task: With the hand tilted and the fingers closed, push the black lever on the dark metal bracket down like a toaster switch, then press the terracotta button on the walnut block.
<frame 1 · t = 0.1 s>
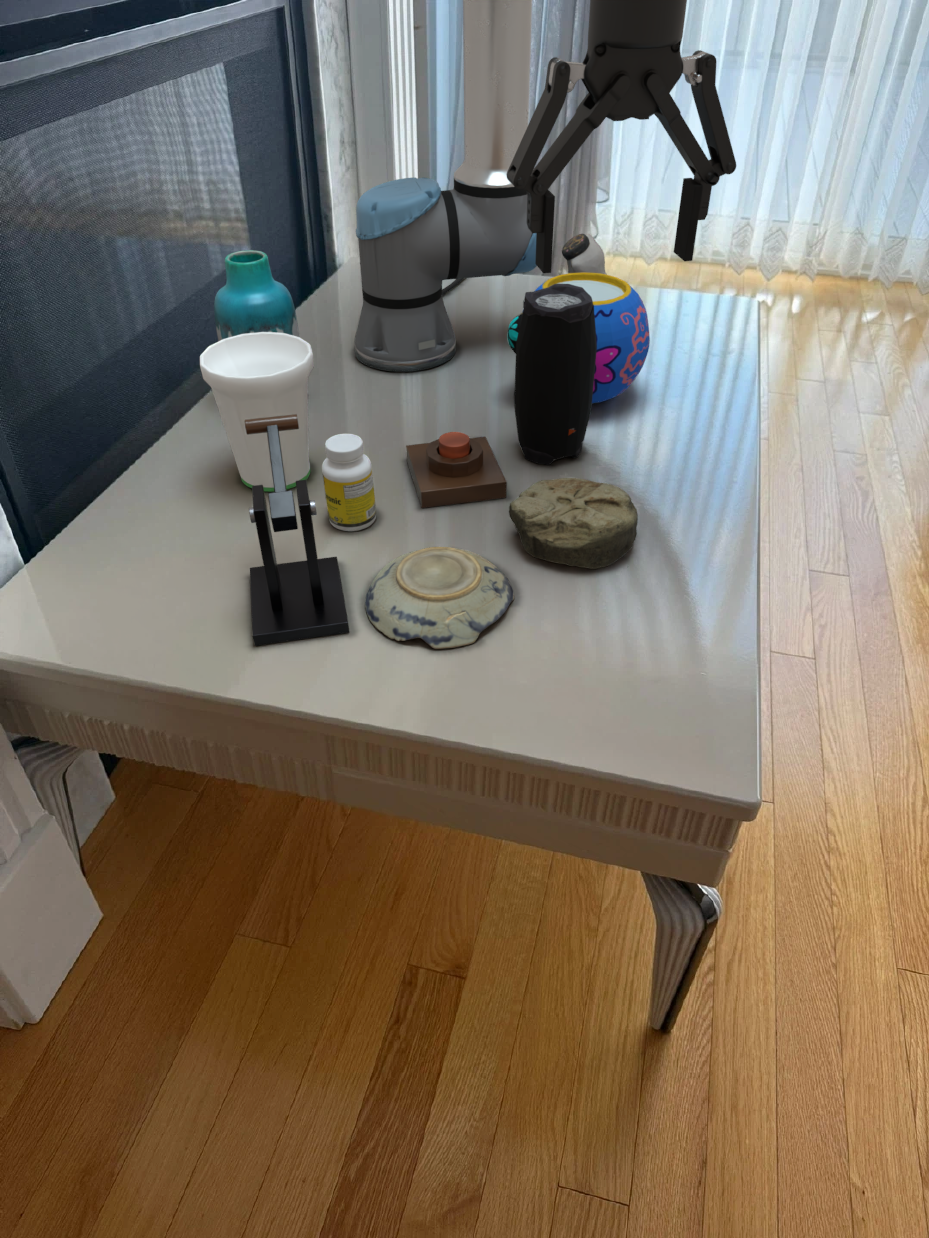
hand: (613, 262, 84), 28 cm above the table, tool pointing down, fingers open, 13 cm apart
decorative bowl: (440, 601, 90), on the table
vase: (269, 399, 125), on the table
supplement bottle: (352, 520, 102), on the table
stone: (571, 539, 98), on the table
button block: (455, 479, 108), on the table
ceramic pot: (577, 396, 125), on the table
lever: (277, 469, 85), point 13 cm above the table, hinge at 25.0°
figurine: (590, 337, 140), on the table
portable speaker: (550, 452, 113), on the table
bracket: (298, 604, 90), on the table
cup: (276, 475, 109), on the table
button: (454, 445, 105), point 4 cm above the table, slide at 0.1 cm
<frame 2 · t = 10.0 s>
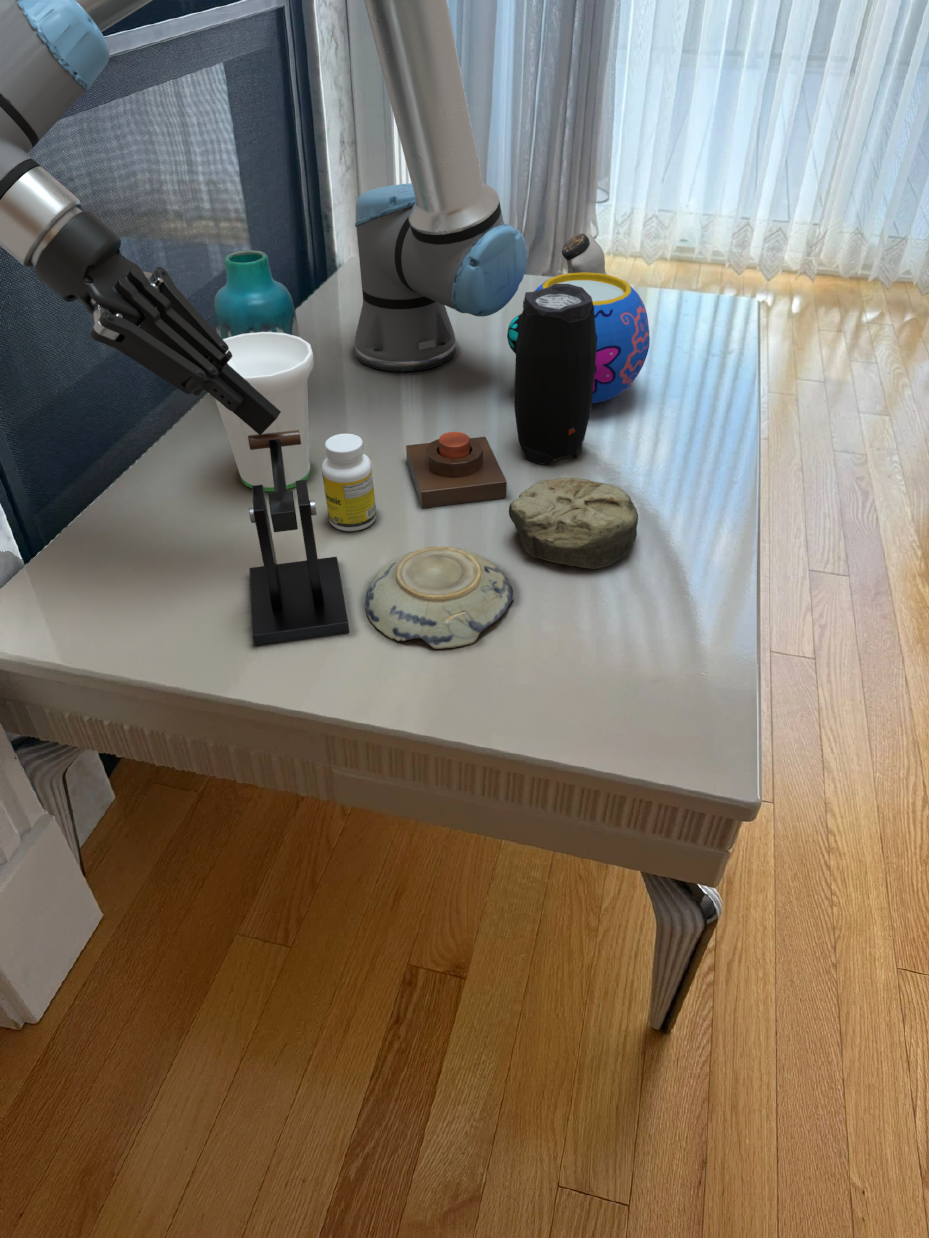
hand: (270, 423, 87), 15 cm above the table, tool tilted 45°, fingers closed
lever: (279, 476, 86), point 12 cm above the table, hinge at 12.4°, touching gripper
everything else where it was.
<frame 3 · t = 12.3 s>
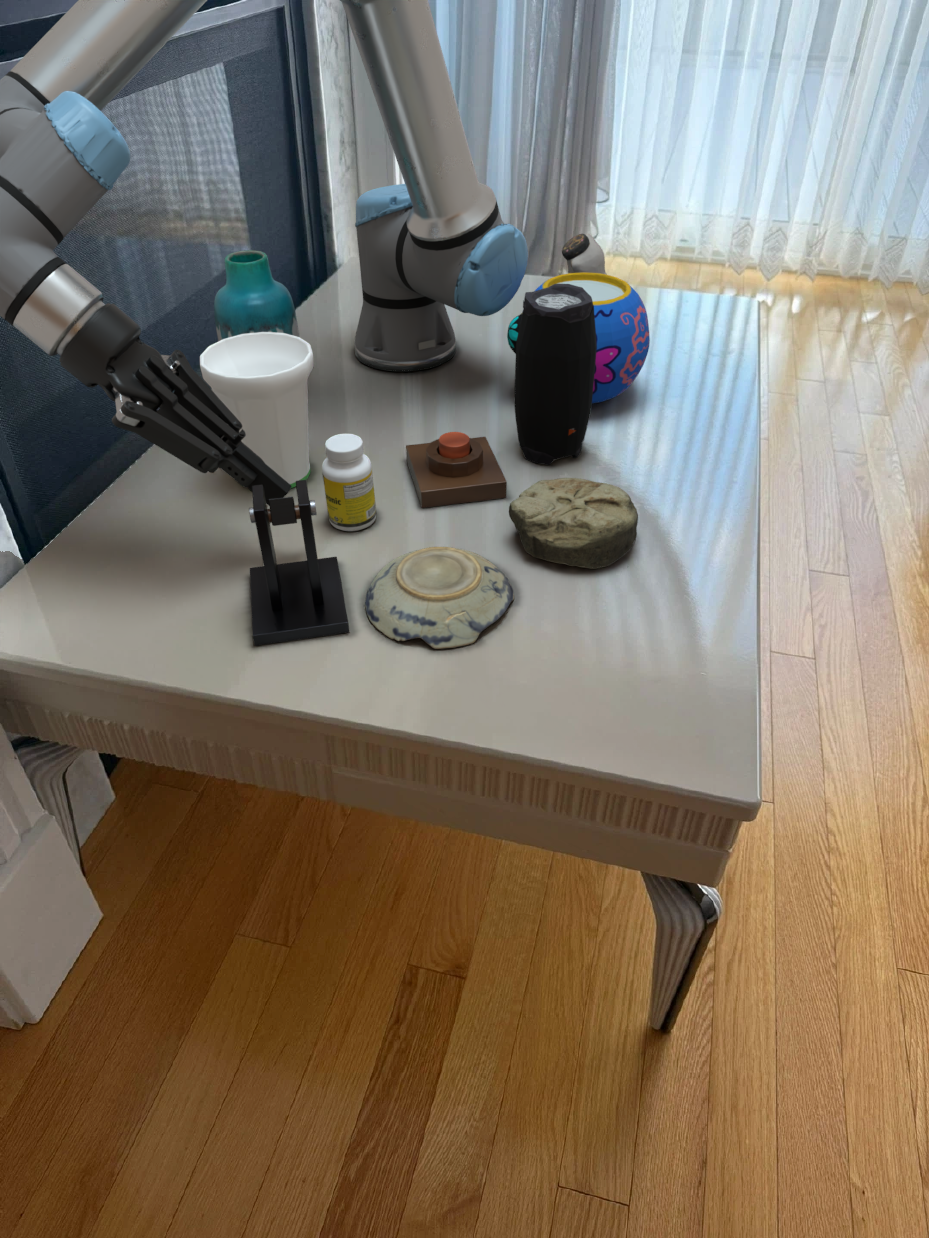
hand: (281, 497, 92), 7 cm above the table, tool tilted 45°, fingers closed
lever: (284, 512, 87), point 8 cm above the table, hinge at -33.8°, touching gripper
everything else where it was.
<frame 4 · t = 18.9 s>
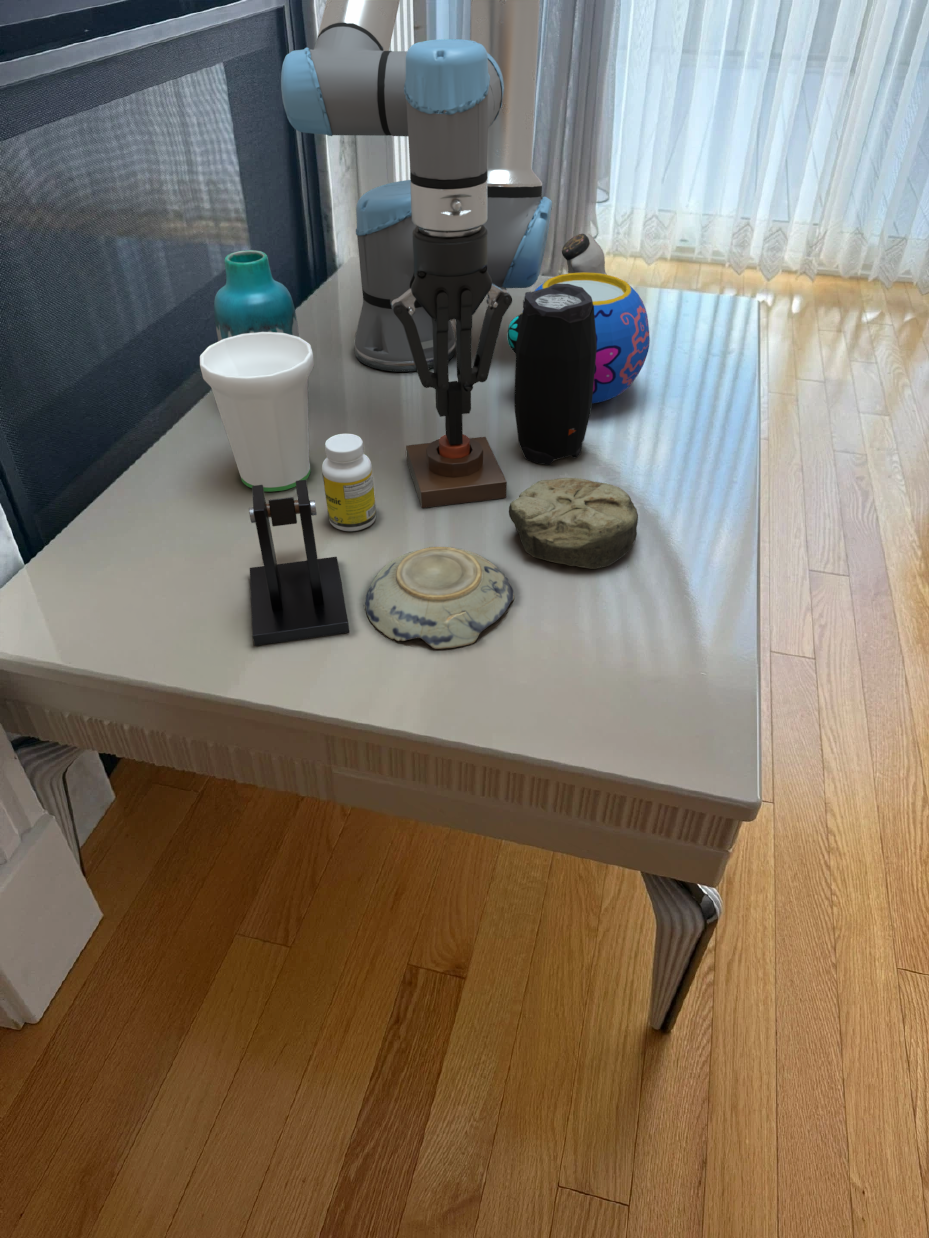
hand: (454, 438, 104), 5 cm above the table, tool pointing down, fingers closed
lever: (284, 509, 87), point 9 cm above the table, hinge at -30.7°
button: (454, 447, 105), point 4 cm above the table, slide at -0.1 cm, touching gripper
everything else where it was.
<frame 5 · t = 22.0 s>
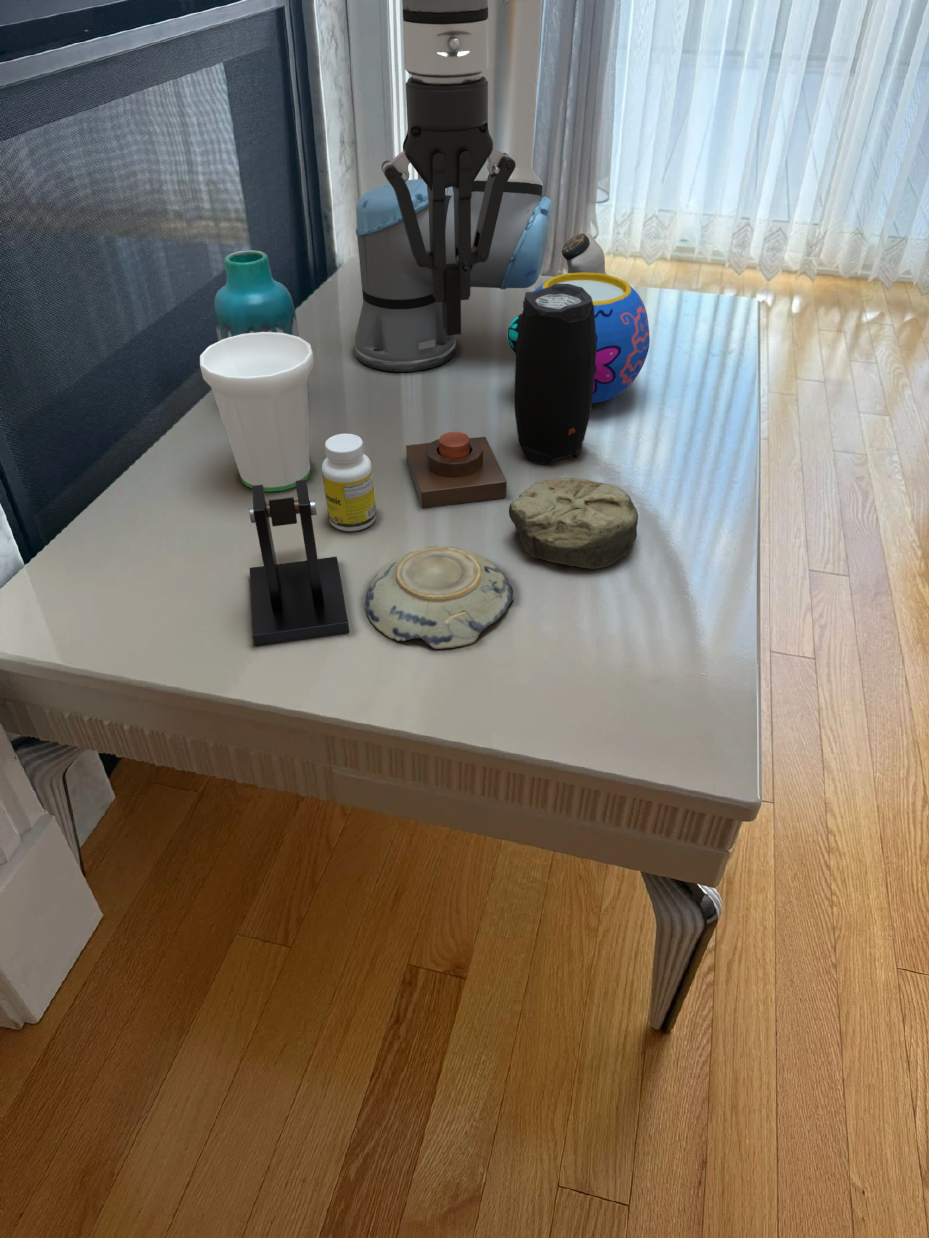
hand: (451, 330, 96), 18 cm above the table, tool pointing down, fingers closed
button: (454, 445, 105), point 4 cm above the table, slide at 0.1 cm
everything else where it was.
at the end: lever at -31° (first picture: +25°); button pushed in 1.0 cm at the most during the clip, back to where it started at the end; button slide at 0.1 cm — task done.
